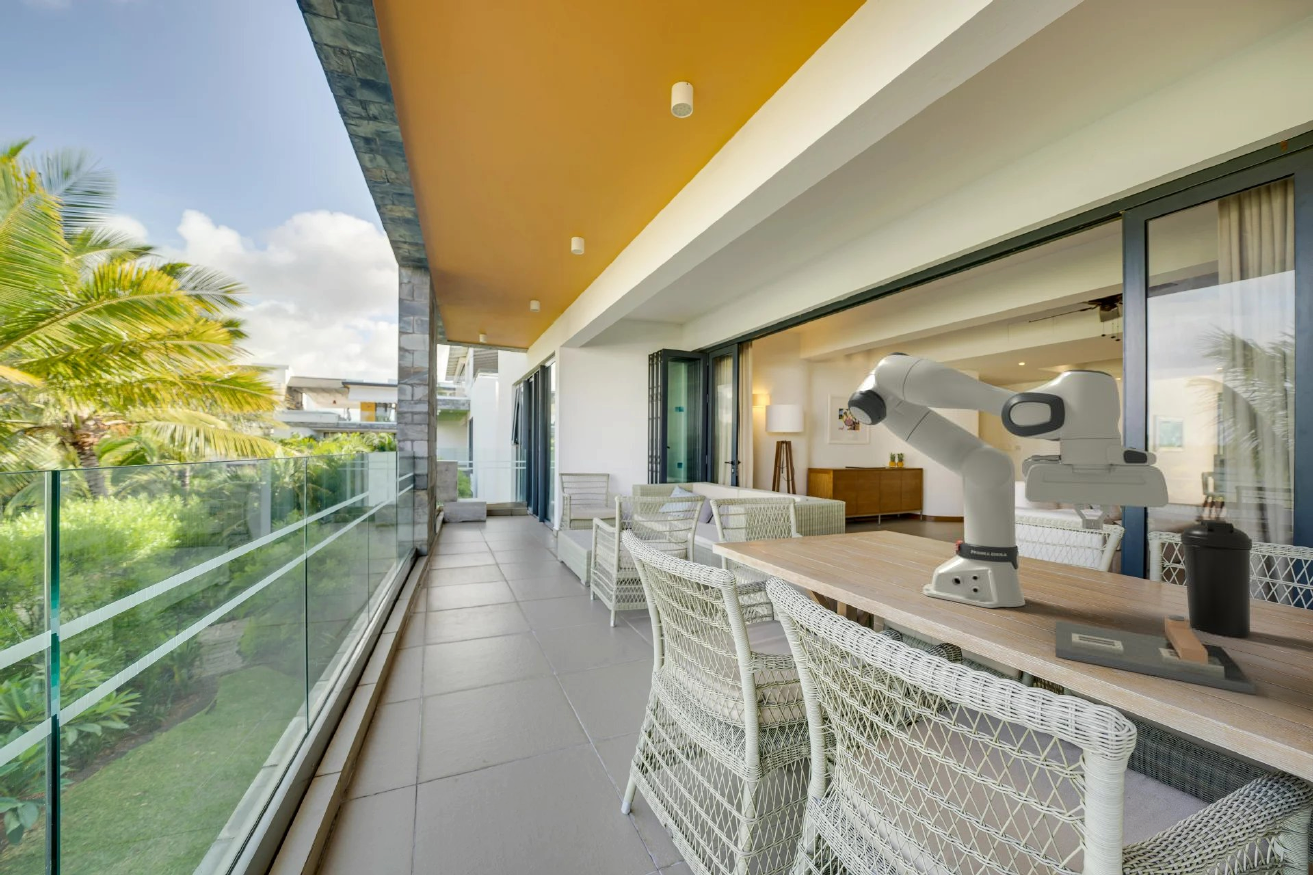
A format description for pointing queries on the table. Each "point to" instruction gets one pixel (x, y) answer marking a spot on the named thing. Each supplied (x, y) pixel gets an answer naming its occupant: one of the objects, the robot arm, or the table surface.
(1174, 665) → the label panel
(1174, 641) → the swing bar
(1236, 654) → the table surface
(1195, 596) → the water bottle
